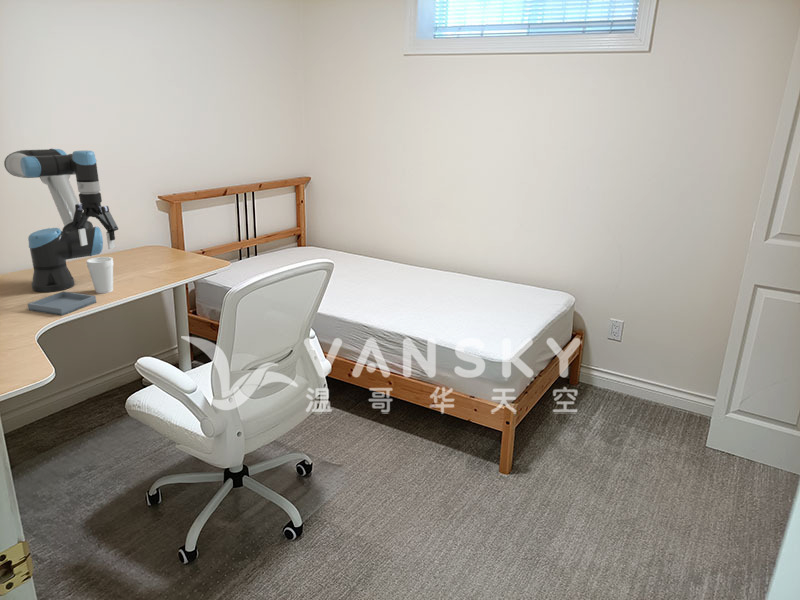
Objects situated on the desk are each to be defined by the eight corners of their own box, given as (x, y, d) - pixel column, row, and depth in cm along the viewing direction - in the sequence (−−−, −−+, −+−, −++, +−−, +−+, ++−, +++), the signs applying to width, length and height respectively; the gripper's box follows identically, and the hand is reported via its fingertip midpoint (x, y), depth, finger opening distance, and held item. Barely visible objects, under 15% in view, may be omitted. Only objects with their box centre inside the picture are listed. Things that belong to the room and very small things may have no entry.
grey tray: (28, 310, 213) (27, 303, 212) (64, 297, 227) (63, 291, 226) (62, 315, 208) (61, 308, 207) (96, 302, 222) (95, 295, 221)
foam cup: (99, 287, 240) (94, 256, 236) (121, 287, 240) (117, 257, 235) (86, 294, 231) (81, 262, 227) (109, 294, 231) (104, 263, 226)
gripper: (55, 191, 223) (65, 246, 230) (108, 195, 216) (116, 251, 222) (71, 189, 230) (80, 242, 236) (123, 193, 222) (130, 247, 229)
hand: (97, 246), depth 229 cm, fingers open, 13 cm apart
